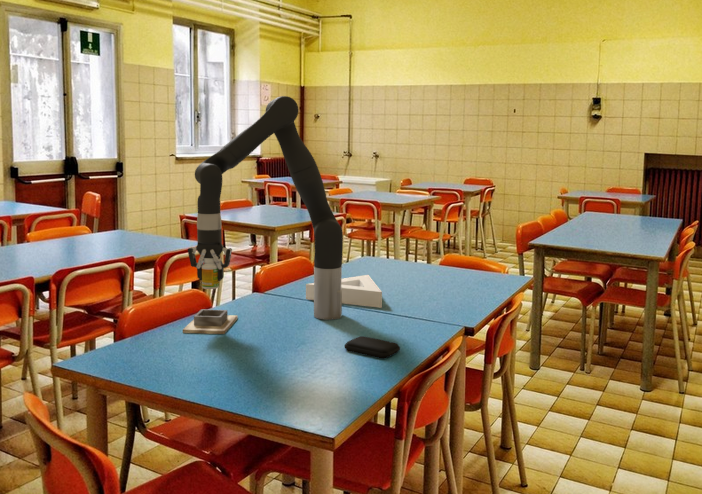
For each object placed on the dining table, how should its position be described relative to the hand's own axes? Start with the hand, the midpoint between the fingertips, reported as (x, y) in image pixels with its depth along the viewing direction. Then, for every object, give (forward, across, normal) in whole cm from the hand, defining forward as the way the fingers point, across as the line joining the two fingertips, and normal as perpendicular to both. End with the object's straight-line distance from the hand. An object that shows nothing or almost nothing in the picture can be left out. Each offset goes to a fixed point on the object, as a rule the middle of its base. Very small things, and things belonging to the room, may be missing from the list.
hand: (210, 279), depth 220 cm
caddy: (+15, 0, 0) cm, 15 cm away
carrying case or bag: (+15, -53, +20) cm, 58 cm away
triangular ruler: (+16, -44, -46) cm, 65 cm away
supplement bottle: (+3, 0, 0) cm, 3 cm away
